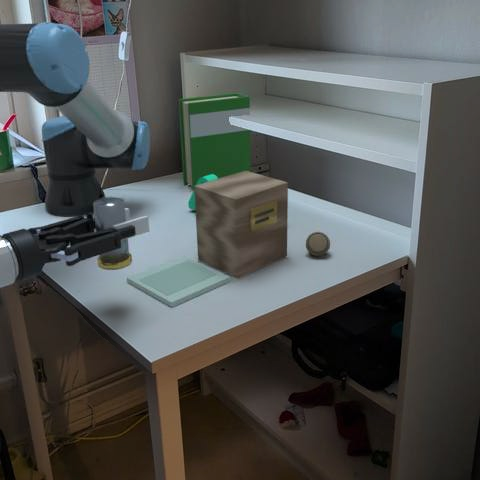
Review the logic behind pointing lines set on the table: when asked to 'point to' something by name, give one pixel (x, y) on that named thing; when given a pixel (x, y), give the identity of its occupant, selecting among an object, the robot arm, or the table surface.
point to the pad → (178, 280)
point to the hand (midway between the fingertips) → (137, 219)
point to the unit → (241, 222)
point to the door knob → (317, 243)
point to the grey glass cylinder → (105, 217)
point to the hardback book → (213, 136)
